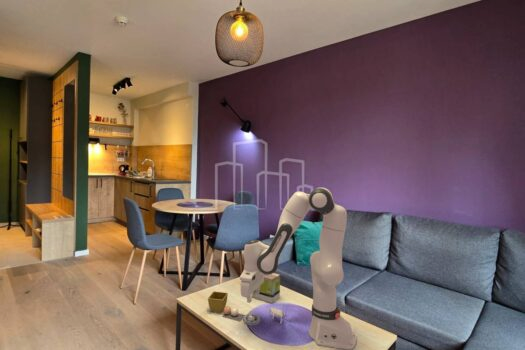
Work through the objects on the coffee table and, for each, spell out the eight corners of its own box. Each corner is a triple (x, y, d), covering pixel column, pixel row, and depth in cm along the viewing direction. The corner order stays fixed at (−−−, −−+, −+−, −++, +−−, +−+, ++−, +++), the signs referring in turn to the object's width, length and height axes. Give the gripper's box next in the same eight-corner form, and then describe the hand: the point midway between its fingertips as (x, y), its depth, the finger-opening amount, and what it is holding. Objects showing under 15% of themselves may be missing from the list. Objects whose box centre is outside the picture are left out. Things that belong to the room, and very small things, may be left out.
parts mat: (246, 317, 160) (246, 315, 160) (240, 323, 154) (240, 321, 154) (228, 312, 165) (228, 310, 165) (221, 318, 158) (221, 316, 158)
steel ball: (256, 319, 156) (255, 314, 154) (253, 326, 153) (252, 321, 151) (249, 317, 157) (248, 312, 155) (246, 324, 154) (245, 319, 152)
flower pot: (222, 316, 161) (222, 299, 160) (207, 314, 162) (207, 298, 162) (227, 308, 169) (228, 292, 169) (213, 306, 171) (213, 291, 170)
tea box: (280, 297, 184) (280, 273, 183) (271, 304, 175) (272, 279, 174) (259, 291, 192) (260, 268, 191) (250, 297, 183) (251, 273, 182)
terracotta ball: (232, 313, 162) (232, 305, 162) (228, 316, 158) (228, 308, 158) (226, 312, 164) (225, 304, 164) (222, 315, 160) (222, 307, 160)
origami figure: (290, 320, 158) (290, 311, 157) (280, 327, 151) (280, 317, 151) (272, 312, 165) (272, 304, 165) (262, 318, 159) (262, 309, 159)
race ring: (262, 320, 157) (262, 316, 157) (255, 328, 149) (255, 324, 149) (248, 316, 161) (248, 312, 160) (240, 324, 153) (240, 320, 153)
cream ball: (238, 305, 161) (232, 308, 163) (233, 307, 158) (228, 310, 159) (240, 313, 160) (235, 315, 161) (236, 315, 156) (231, 318, 158)
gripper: (256, 264, 164) (256, 288, 165) (238, 278, 145) (238, 305, 146) (266, 265, 161) (267, 290, 162) (249, 280, 143) (250, 308, 144)
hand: (253, 298), depth 154 cm, fingers open, 8 cm apart
